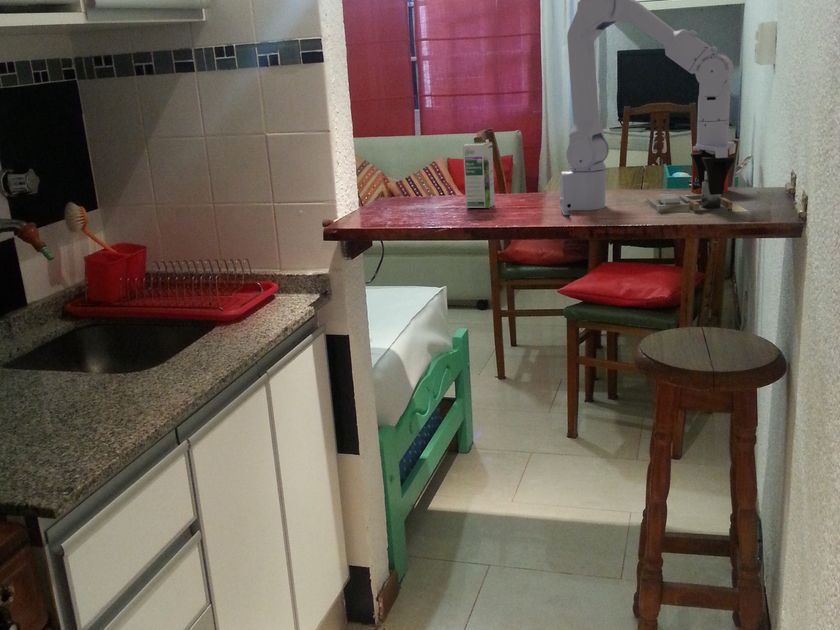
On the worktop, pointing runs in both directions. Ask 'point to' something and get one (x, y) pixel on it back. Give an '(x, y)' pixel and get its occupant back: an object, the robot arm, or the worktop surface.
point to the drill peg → (709, 196)
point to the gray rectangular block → (668, 199)
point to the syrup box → (478, 175)
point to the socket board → (692, 206)
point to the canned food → (695, 183)
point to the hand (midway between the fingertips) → (710, 191)
